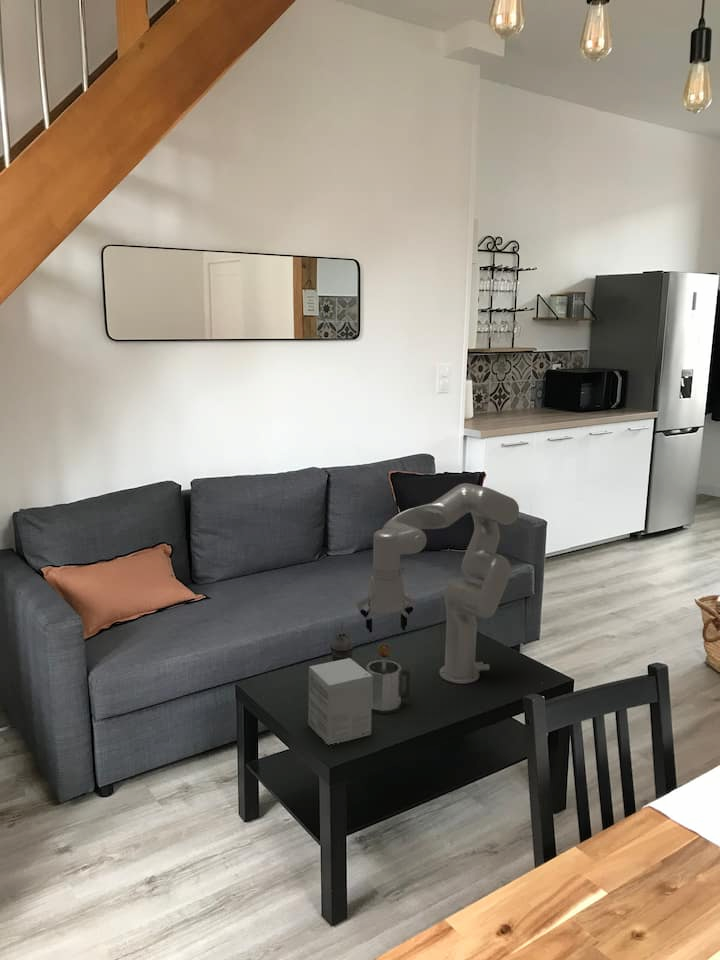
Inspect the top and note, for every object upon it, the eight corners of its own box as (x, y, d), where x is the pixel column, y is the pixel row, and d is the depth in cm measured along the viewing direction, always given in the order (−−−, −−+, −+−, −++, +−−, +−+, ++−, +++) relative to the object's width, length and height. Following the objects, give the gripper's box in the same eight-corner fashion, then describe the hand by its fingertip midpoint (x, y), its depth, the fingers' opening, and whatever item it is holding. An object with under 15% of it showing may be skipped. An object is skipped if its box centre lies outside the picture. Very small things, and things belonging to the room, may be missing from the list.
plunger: (393, 689, 232) (394, 638, 229) (398, 701, 224) (400, 648, 221) (368, 691, 231) (369, 639, 227) (372, 703, 223) (373, 649, 220)
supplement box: (349, 714, 223) (350, 656, 219) (371, 735, 211) (373, 675, 208) (307, 724, 217) (307, 665, 213) (328, 746, 205) (328, 685, 202)
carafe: (404, 695, 234) (405, 658, 232) (412, 712, 224) (413, 673, 222) (362, 698, 232) (363, 660, 230) (368, 715, 222) (369, 676, 220)
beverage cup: (354, 677, 246) (355, 617, 242) (351, 687, 239) (352, 626, 235) (331, 675, 247) (332, 616, 243) (328, 686, 240) (329, 624, 236)
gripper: (413, 567, 225) (413, 622, 229) (354, 570, 223) (354, 626, 226) (419, 575, 218) (418, 632, 222) (358, 579, 215) (358, 637, 219)
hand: (386, 629), depth 224 cm, fingers open, 9 cm apart
